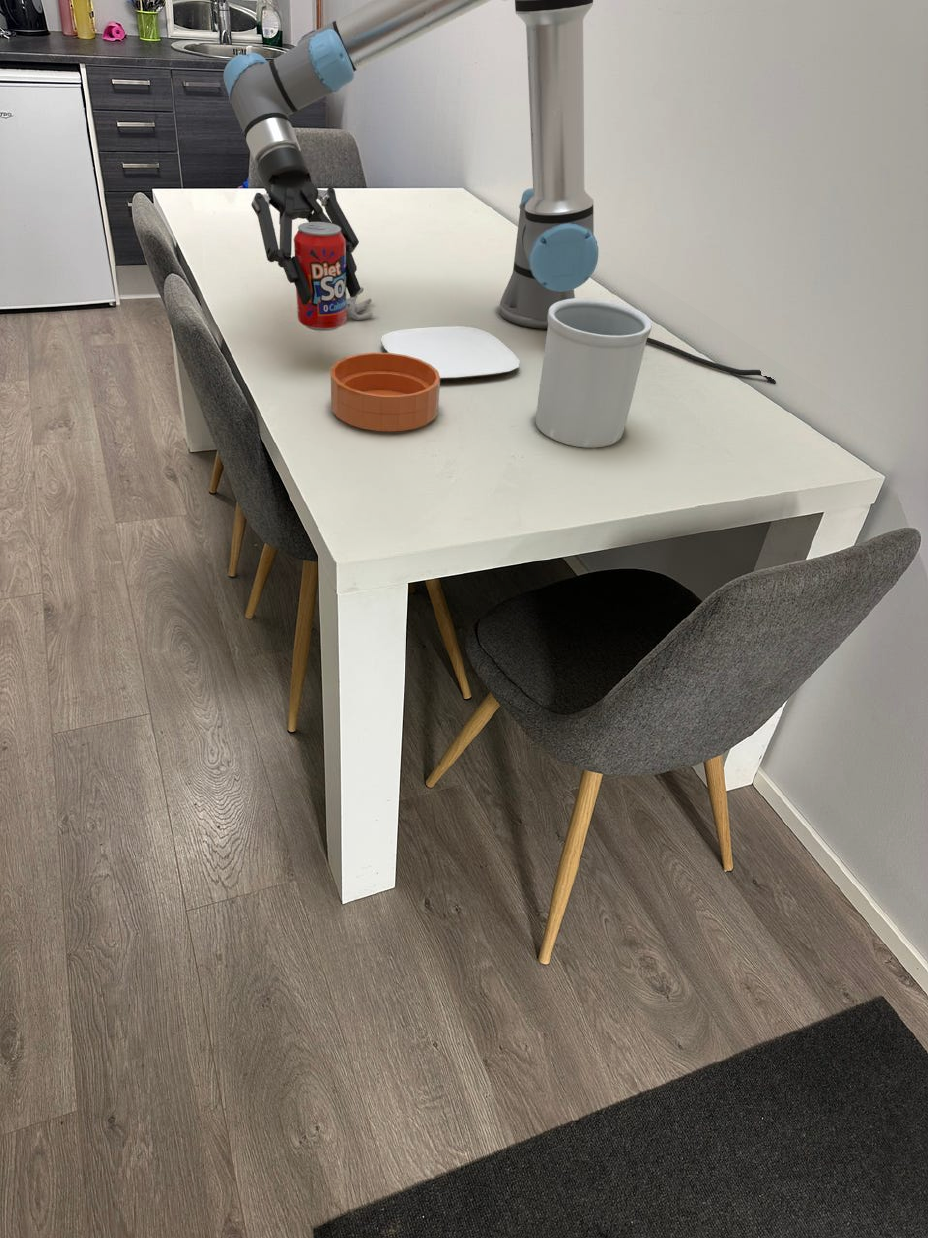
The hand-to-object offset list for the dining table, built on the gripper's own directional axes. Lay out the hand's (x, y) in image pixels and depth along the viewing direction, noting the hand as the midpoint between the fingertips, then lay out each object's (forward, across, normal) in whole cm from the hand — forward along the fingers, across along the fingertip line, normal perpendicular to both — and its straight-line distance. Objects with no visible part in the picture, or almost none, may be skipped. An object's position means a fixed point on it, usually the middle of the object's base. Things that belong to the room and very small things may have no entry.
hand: (331, 296), depth 136 cm
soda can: (+2, 0, -6) cm, 7 cm away
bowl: (+20, 0, +3) cm, 20 cm away
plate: (+11, -21, -6) cm, 25 cm away
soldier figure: (-7, -17, -24) cm, 30 cm away
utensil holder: (+34, -24, +16) cm, 44 cm away
